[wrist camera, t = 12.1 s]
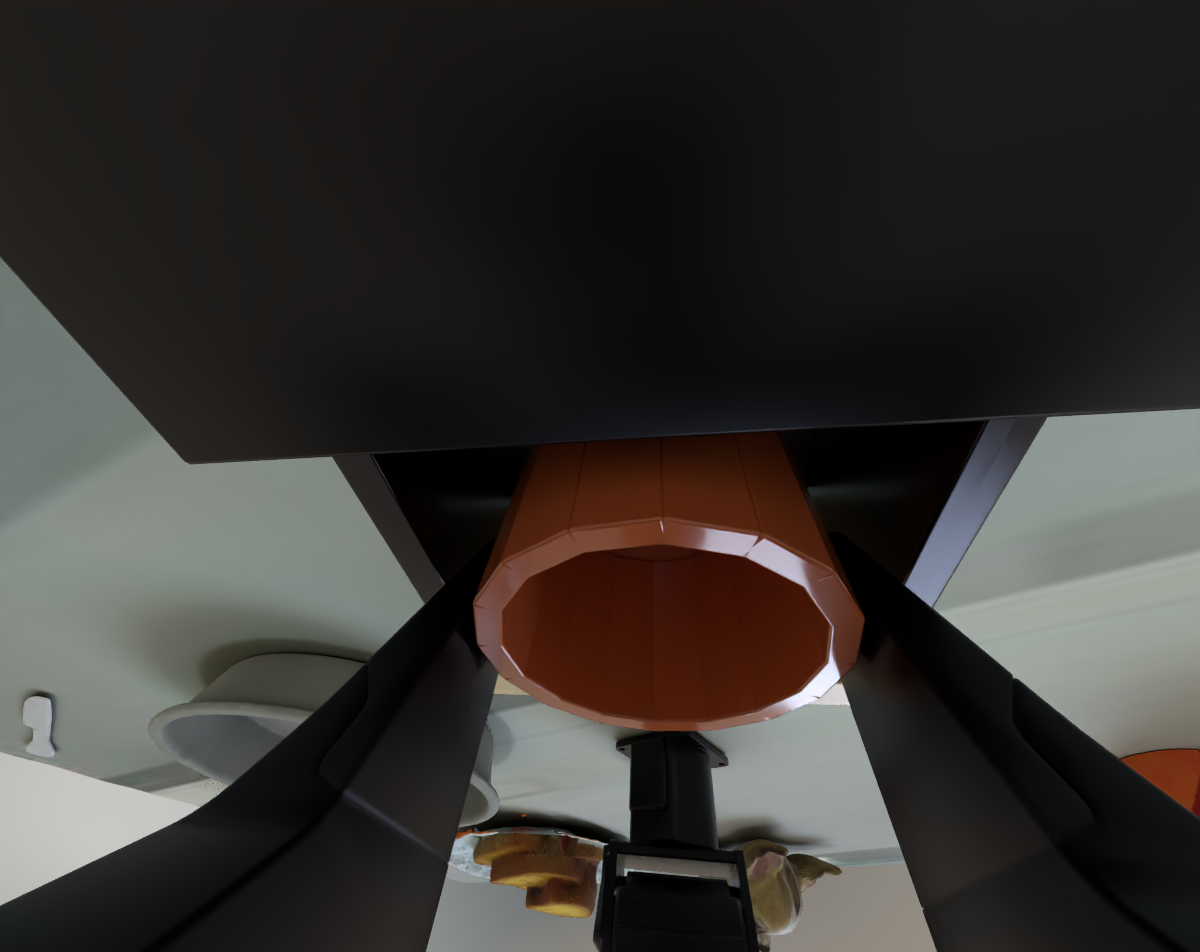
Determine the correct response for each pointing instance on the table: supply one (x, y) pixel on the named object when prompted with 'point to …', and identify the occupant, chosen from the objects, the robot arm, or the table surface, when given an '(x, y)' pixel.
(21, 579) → the table surface
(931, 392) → the black rectangular box
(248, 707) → the cake pan
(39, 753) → the butter knife
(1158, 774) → the paper cup
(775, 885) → the ceramic sculpture
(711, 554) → the ramekin
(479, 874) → the food on plate
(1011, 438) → the drawer
